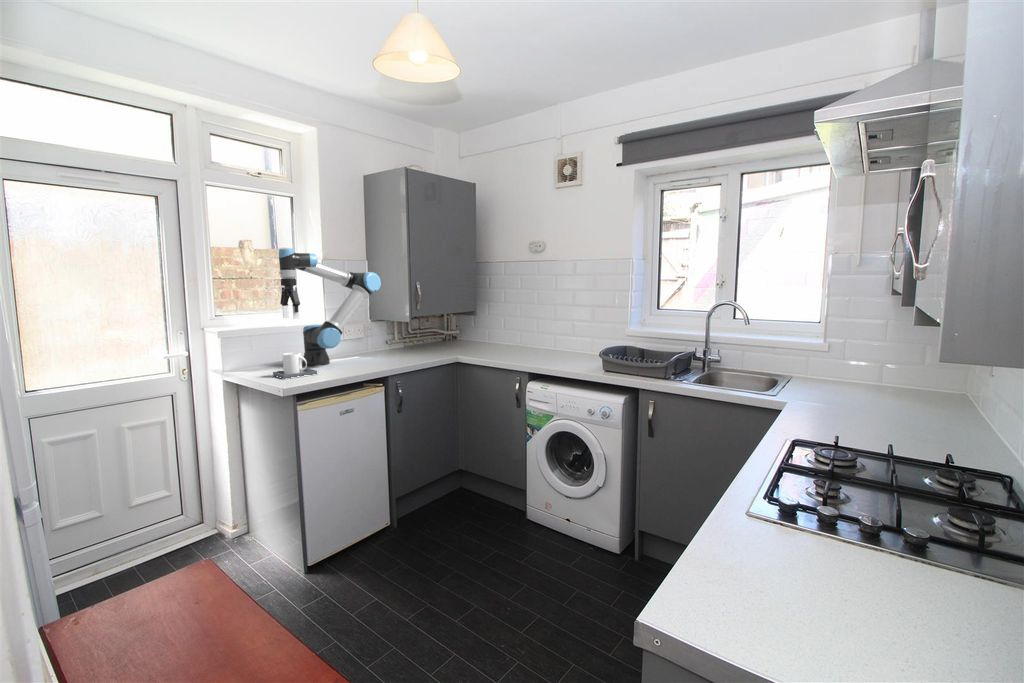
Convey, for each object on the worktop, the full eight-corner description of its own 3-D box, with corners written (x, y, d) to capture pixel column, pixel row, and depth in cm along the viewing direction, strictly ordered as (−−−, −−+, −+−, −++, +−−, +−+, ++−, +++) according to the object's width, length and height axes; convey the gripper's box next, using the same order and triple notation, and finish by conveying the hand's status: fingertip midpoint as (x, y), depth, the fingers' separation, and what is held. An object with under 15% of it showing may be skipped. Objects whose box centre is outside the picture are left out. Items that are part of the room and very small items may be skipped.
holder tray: (305, 371, 258) (305, 367, 258) (317, 374, 248) (317, 370, 248) (273, 375, 246) (272, 372, 246) (284, 379, 236) (284, 375, 236)
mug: (303, 375, 242) (301, 354, 241) (280, 375, 243) (278, 354, 242) (311, 372, 251) (310, 352, 250) (289, 372, 252) (288, 352, 251)
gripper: (272, 278, 260) (274, 317, 262) (290, 277, 243) (293, 319, 245) (286, 278, 265) (289, 317, 268) (305, 277, 248) (308, 318, 251)
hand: (291, 318), depth 257 cm, fingers open, 13 cm apart
